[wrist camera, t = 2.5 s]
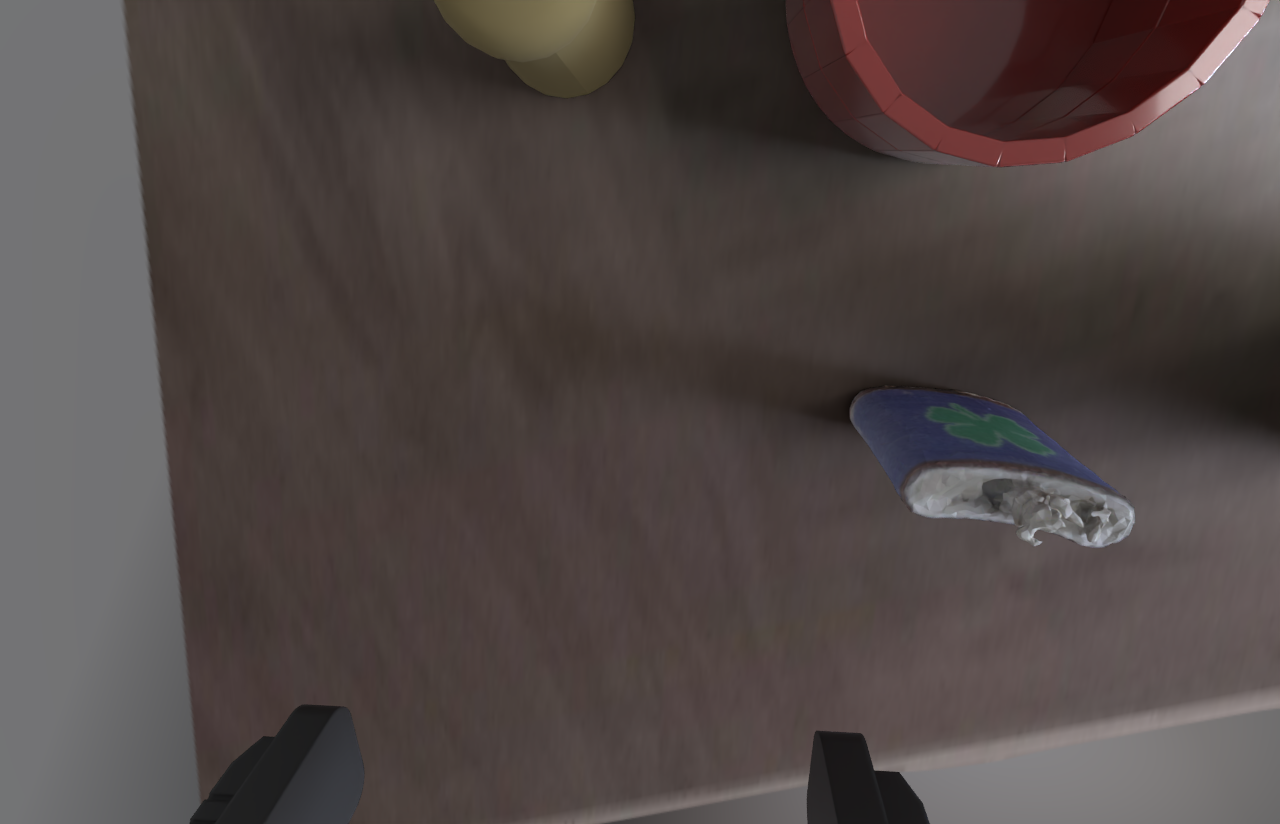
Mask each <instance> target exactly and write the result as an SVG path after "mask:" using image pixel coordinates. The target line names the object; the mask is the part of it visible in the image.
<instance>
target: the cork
mask: <svg viewBox="0 0 1280 824" xmlns="http://www.w3.org/2000/svg"><path fill="white" fill-rule="evenodd" d="M434 2H435V4H436V5H437V7H438V9H439V11H440V13H441V14H442V16H443V18H444V20H445V21H446V23H447V24H448V25H449V26H450V27H451V28H452V29H453V30H454V31H455V32H456V33H457V34H458V35H459V36H460V37H461V38H462V39H463V40H464V41H465V42H466V43H468V44H470V45H472V46H473V47H475V48H477V49H479V50H481V51H483V52H485V53H487V54H488V55H490V56H492V57H495V58H497V59H504V60H505V61H506V63H507V64H508V66H509V67H510V68H511V69H512V70H513V71H514V72H515V73H516V75H517V76H518V77H519V78H520V79H521V80H522V81H523V82H524V83H525V84H526V85H528V86H530V87H532V88H534V89H536V90H538V91H539V92H541V93H543V94H545V95H549V96H555V97H562V98H572V97H577V96H582V95H587V94H590V93H591V92H593V91H595V90H596V89H598V88H600V87H601V86H603V85H605V84H606V83H608V82H609V80H610V79H611V78H612V77H613V76H614V75H615V73H616V72H617V71H618V70H619V69H620V67H621V66H622V65H623V63H624V60H625V58H626V56H627V53H628V51H629V49H630V46H631V44H632V40H633V31H634V23H635V12H634V6H633V0H434Z"/></svg>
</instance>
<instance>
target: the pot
mask: <svg viewBox="0 0 1280 824" xmlns="http://www.w3.org/2000/svg"><path fill="white" fill-rule="evenodd" d="M1269 1H1270V0H785V3H786V22H787V28H788V33H789V39H790V45H791V48H792V52H793V55H794V58H795V61H796V65H797V68H798V70H799V72H800V74H801V77H802V79H803V81H804V83H805V85H806V87H807V89H808V91H809V92H810V94H811V95H812V97H813V99H814V100H815V102H816V103H817V105H818V106H819V107H820V109H821V110H822V111H823V112H824V113H825V114H826V116H827V117H828V118H829V119H830V120H831V121H832V122H833V123H834V124H835V125H836V126H837V127H838V128H840V129H841V130H842V131H843V132H844V133H845V134H846V135H848V136H850V137H851V138H853V139H854V140H856V141H857V142H859V143H860V144H862V145H864V146H866V147H868V148H869V149H871V150H874V151H876V152H879V153H882V154H885V155H889V156H892V157H896V158H900V159H906V160H909V161H913V162H917V163H927V164H945V165H965V166H983V167H1011V166H1024V165H1038V164H1051V163H1062V162H1067V161H1070V160H1073V159H1075V158H1078V157H1080V156H1083V155H1086V154H1088V153H1091V152H1093V151H1096V150H1098V149H1101V148H1104V147H1106V146H1109V145H1111V144H1114V143H1116V142H1119V141H1122V140H1124V139H1127V138H1129V137H1132V136H1134V135H1135V134H1137V133H1138V132H1140V131H1141V130H1142V129H1144V128H1145V127H1147V126H1148V125H1149V124H1151V123H1152V122H1153V121H1155V120H1156V119H1158V118H1159V117H1160V116H1162V115H1163V114H1165V113H1166V112H1167V111H1169V110H1170V109H1171V108H1173V107H1174V106H1176V105H1177V104H1178V103H1180V102H1181V101H1182V100H1184V99H1185V98H1187V97H1188V96H1189V95H1191V94H1192V93H1194V92H1195V91H1196V90H1198V89H1199V88H1200V87H1201V86H1202V85H1204V84H1205V83H1206V82H1207V81H1208V79H1209V78H1210V77H1211V76H1212V75H1213V74H1214V72H1215V71H1216V70H1217V69H1218V68H1219V67H1220V65H1221V64H1222V63H1223V62H1224V61H1225V60H1226V58H1227V57H1228V56H1229V55H1230V54H1231V53H1232V51H1233V50H1234V49H1235V48H1236V47H1237V46H1238V44H1239V43H1240V42H1241V41H1242V40H1243V39H1244V37H1245V36H1246V35H1247V34H1248V33H1249V32H1250V31H1251V29H1252V28H1253V27H1254V26H1255V25H1256V24H1257V22H1258V21H1259V20H1260V18H1259V17H1261V16H1262V15H1263V13H1264V11H1265V9H1266V7H1267V5H1268V3H1269Z"/></svg>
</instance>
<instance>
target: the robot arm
mask: <svg viewBox="0 0 1280 824" xmlns="http://www.w3.org/2000/svg"><path fill="white" fill-rule="evenodd" d="M363 784H364V765H363V761H362V757H361V753H360V749H359V745H358V741H357V737H356V733H355V729H354V725H353V721H352V717H351V714H350V711H349V710H348V709H347V708H346V707H341V706H323V705H301V706H299V707H297V708H296V709H295V710H294V711H293V712H292V714H291V715H290V716H289V718H288V719H287V721H286V722H285V724H284V725H283V726H282V728H281V729H280V731H279V732H278V734H277V735H276V736H275V737H266V736H263V737H262V738H261V739H260V740H258V741H257V742H256V743H255V744H254V745H252V746H251V747H250V748H249V749H248V750H246V751H245V752H244V753H243V754H242V755H240V756H239V757H238V758H237V759H236V760H234V761H233V762H232V763H231V765H230V766H229V767H228V769H227V770H226V771H225V773H224V774H223V776H222V777H221V778H220V780H219V781H218V782H217V784H216V785H215V786H214V788H213V789H212V790H211V792H210V793H209V794H210V795H209V798H208V799H207V800H204V801H203V803H202V804H201V805H200V807H199V808H198V809H197V811H196V812H195V813H194V815H193V816H192V818H191V819H190V824H348V823H349V821H350V819H351V817H352V816H353V814H354V812H355V810H356V807H357V805H358V803H359V800H360V797H361V793H362V789H363ZM807 820H808V824H930V823H929V821H928V817H927V814H926V812H925V809H924V806H923V803H922V802H921V800H920V799H919V798H918V797H917V795H916V794H915V793H914V791H913V790H912V789H911V787H910V786H909V785H908V783H907V782H906V781H905V779H904V778H903V777H902V775H901V774H900V773H899V772H889V771H874V769H873V765H872V761H871V758H870V754H869V751H868V747H867V744H866V741H865V738H864V736H863V735H862V734H861V733H847V732H829V731H816V732H815V735H814V741H813V749H812V757H811V765H810V774H809V782H808V790H807Z"/></svg>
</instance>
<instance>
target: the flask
mask: <svg viewBox="0 0 1280 824" xmlns="http://www.w3.org/2000/svg"><path fill="white" fill-rule="evenodd" d="M854 400H855V401H854ZM853 402H854V403H853ZM852 403H853V404H851V407H850V420H851V422H852V424H853V425H854V427H855V428H856V430H857V431H858V432H859V434H860V435H861V436H862V437H863V439H864V440H865V442H866V443H867V444H868V446H869V447H870V448H871V450H872V452H873V454H874V455H875V456H876V458H877V459H878V461H879V463H880V464H881V466H882V467H883V468H884V470H885V472H886V473H887V475H888V476H889V478H890V480H891V481H892V483H893V485H894V487H895V490H896V492H897V493H898V494H899V496H900V497H901V499H902V501H903V502H904V504H905V505H906V506H907V508H908V509H909V510H910V511H911V512H913V513H915V514H918V515H920V516H924V517H928V518H954V519H961V518H969V519H978V520H982V521H984V520H988V521H990V522H1001V523H1007V524H1013V525H1015V526H1018V527H1020V528H1018V530H1017V531H1016V533H1017V535H1018V537H1019V538H1021V539H1022V540H1025V541H1027V542H1029V543H1030V544H1031V545H1032V546H1037V545H1039V544H1041V543H1042V542H1040V541H1038V540H1037V539H1035V538H1033V535H1034V533H1035V532H1036V531H1037V530H1042V531H1046V532H1050V533H1053V534H1056V535H1058V536H1061V537H1063V538H1066V539H1068V540H1070V541H1072V542H1074V543H1076V544H1079V545H1083V546H1087V547H1093V548H1101V547H1106V546H1108V545H1109V544H1111V543H1117V542H1119V541H1120V540H1122V539H1124V538H1125V537H1128V535H1129V534H1130V531H1131V529H1132V526H1133V524H1135V511H1134V506H1133V505H1132V503H1131V502H1130V501H1129V500H1127V498H1126V497H1125V496H1122V495H1121V494H1120V493H1119V492H1118V491H1116V490H1115V489H1114V488H1112V487H1111V486H1110V485H1109V484H1107V483H1105V482H1104V481H1103V480H1102V479H1100V478H1099V477H1098V476H1097V475H1096V474H1095V473H1094V472H1092V471H1091V470H1090V469H1088V468H1087V467H1085V466H1084V465H1083V464H1081V463H1080V462H1079V461H1078V460H1076V459H1075V458H1074V457H1073V456H1071V455H1070V454H1069V453H1068V452H1067V451H1066V450H1065V449H1063V448H1062V447H1061V446H1060V445H1059V444H1058V443H1057V442H1055V441H1054V440H1053V439H1051V438H1050V437H1049V436H1047V435H1046V434H1045V433H1044V432H1043V431H1042V430H1040V429H1039V428H1038V427H1037V426H1035V425H1034V424H1033V423H1032V422H1031V421H1030V420H1029V419H1028V418H1027V417H1026V416H1025V415H1024V414H1023V413H1022V412H1020V411H1019V410H1016V409H1014V408H1013V407H1012V406H1010V405H1008V404H1006V403H1002V402H999V401H995V400H992V399H991V398H989V397H985V396H983V397H980V396H978V395H976V394H975V393H974V394H971V393H968V392H959V391H957V390H939V389H936V388H935V389H932V388H923V387H922V388H919V387H909V386H908V387H906V386H886V385H885V386H880V387H873V388H867V390H863V391H860V393H859V394H858V395H857V396H855V398H854V399H853V401H852ZM1021 526H1022V527H1021Z"/></svg>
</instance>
